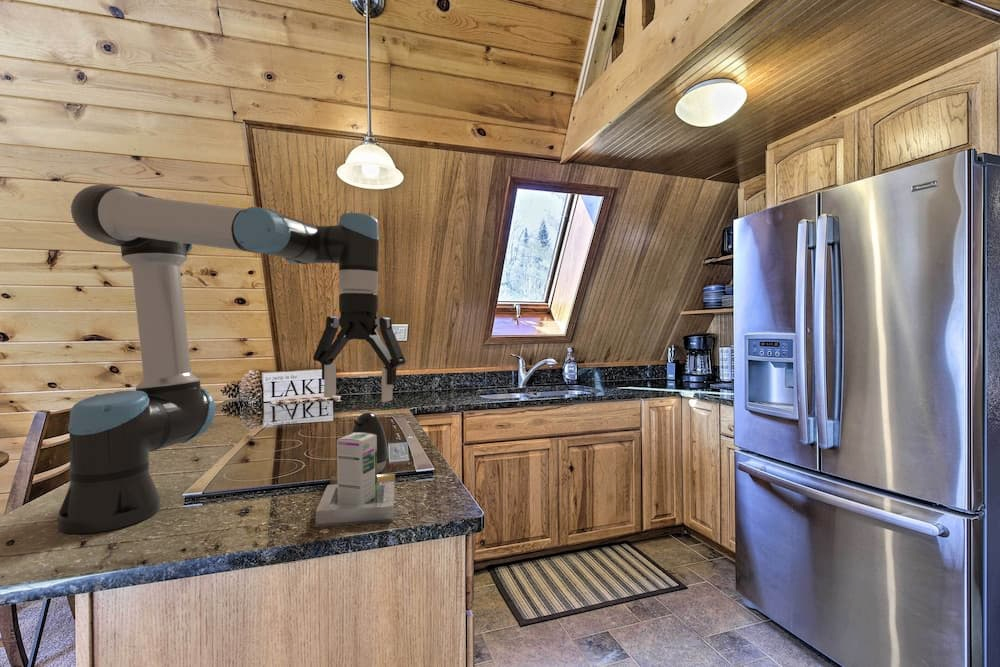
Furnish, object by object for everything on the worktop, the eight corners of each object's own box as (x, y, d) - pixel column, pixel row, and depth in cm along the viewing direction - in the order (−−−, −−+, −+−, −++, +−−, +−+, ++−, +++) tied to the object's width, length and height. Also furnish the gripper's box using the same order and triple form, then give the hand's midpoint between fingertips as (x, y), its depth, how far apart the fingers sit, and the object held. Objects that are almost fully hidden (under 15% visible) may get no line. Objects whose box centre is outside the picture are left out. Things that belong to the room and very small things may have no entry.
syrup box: (362, 513, 93) (362, 440, 93) (336, 509, 95) (336, 437, 94) (377, 503, 98) (378, 433, 98) (353, 499, 100) (353, 431, 100)
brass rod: (330, 492, 105) (330, 479, 105) (332, 487, 108) (332, 474, 108) (394, 489, 108) (394, 476, 108) (394, 484, 111) (395, 471, 111)
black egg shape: (336, 477, 116) (336, 415, 115) (361, 464, 125) (361, 407, 125) (373, 482, 113) (373, 418, 112) (395, 469, 122) (396, 410, 122)
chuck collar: (315, 527, 88) (315, 511, 88) (327, 498, 102) (327, 484, 102) (392, 521, 91) (393, 506, 91) (394, 494, 105) (394, 481, 105)
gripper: (423, 294, 94) (421, 400, 95) (320, 293, 103) (320, 391, 103) (403, 291, 87) (402, 406, 88) (295, 291, 96) (294, 396, 96)
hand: (357, 398), depth 96 cm, fingers open, 13 cm apart
